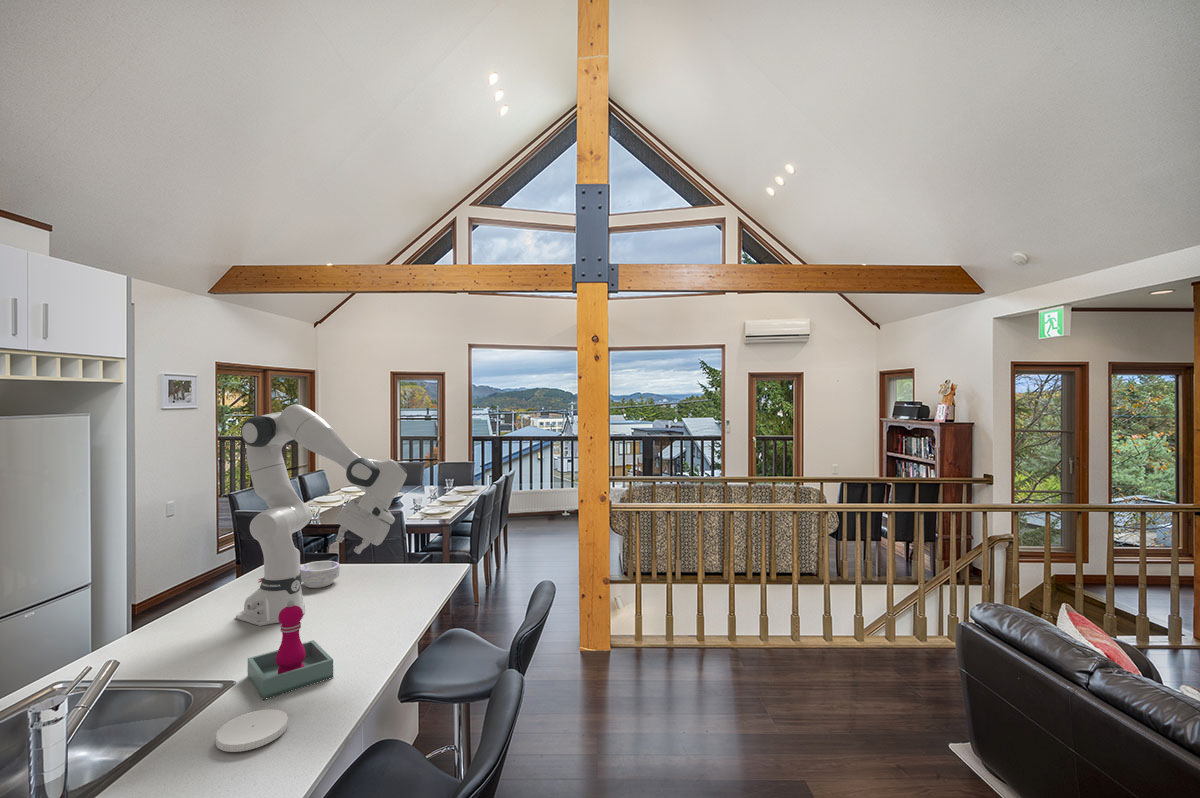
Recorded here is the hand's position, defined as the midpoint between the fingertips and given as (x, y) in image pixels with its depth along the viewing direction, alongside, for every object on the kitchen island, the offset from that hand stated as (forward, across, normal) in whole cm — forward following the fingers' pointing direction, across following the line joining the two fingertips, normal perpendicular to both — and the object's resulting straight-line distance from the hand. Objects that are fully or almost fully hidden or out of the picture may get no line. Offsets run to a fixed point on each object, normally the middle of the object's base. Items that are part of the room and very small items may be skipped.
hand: (347, 547), depth 178 cm
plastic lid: (+42, +33, -24) cm, 58 cm away
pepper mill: (+34, +14, -5) cm, 37 cm away
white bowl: (+23, -50, +46) cm, 72 cm away
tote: (+35, +14, -5) cm, 38 cm away
